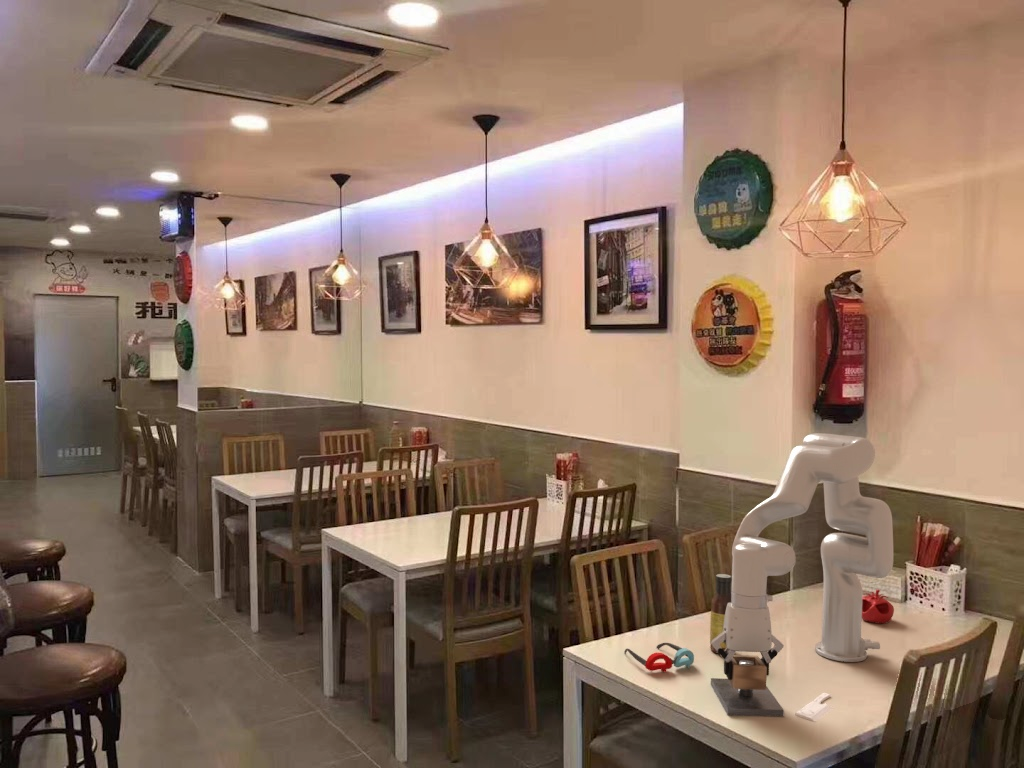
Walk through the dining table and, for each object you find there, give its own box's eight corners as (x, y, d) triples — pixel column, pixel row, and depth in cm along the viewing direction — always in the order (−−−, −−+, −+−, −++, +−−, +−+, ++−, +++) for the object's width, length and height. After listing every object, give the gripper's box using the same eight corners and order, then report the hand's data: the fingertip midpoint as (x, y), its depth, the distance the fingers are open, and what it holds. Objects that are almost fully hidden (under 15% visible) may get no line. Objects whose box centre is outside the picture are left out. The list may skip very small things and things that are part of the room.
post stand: (761, 685, 190) (762, 650, 190) (783, 716, 174) (784, 677, 174) (710, 684, 190) (711, 648, 190) (727, 715, 174) (728, 676, 174)
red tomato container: (860, 613, 246) (861, 583, 246) (896, 619, 240) (897, 588, 240) (853, 621, 238) (854, 589, 238) (889, 628, 232) (890, 595, 232)
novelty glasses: (650, 677, 195) (650, 657, 195) (617, 655, 208) (618, 636, 208) (697, 669, 200) (697, 649, 200) (662, 648, 214) (663, 630, 214)
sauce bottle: (735, 656, 208) (737, 580, 207) (710, 654, 209) (712, 578, 209) (733, 647, 215) (735, 573, 214) (709, 645, 216) (711, 571, 215)
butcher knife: (845, 703, 182) (845, 698, 182) (817, 725, 172) (817, 720, 171) (823, 695, 186) (823, 691, 186) (794, 716, 175) (794, 711, 175)
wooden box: (756, 677, 185) (757, 655, 185) (766, 689, 178) (766, 667, 178) (726, 676, 185) (727, 654, 185) (734, 688, 178) (735, 666, 178)
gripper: (782, 595, 185) (779, 672, 185) (706, 593, 185) (703, 670, 186) (793, 606, 177) (790, 685, 178) (713, 604, 178) (711, 683, 178)
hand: (746, 677), depth 182 cm, fingers closed on wooden box, 7 cm apart
